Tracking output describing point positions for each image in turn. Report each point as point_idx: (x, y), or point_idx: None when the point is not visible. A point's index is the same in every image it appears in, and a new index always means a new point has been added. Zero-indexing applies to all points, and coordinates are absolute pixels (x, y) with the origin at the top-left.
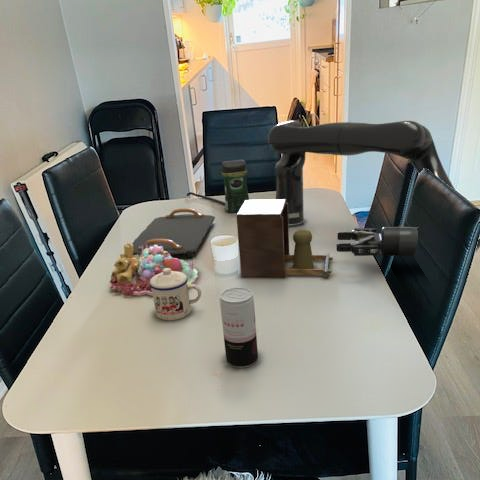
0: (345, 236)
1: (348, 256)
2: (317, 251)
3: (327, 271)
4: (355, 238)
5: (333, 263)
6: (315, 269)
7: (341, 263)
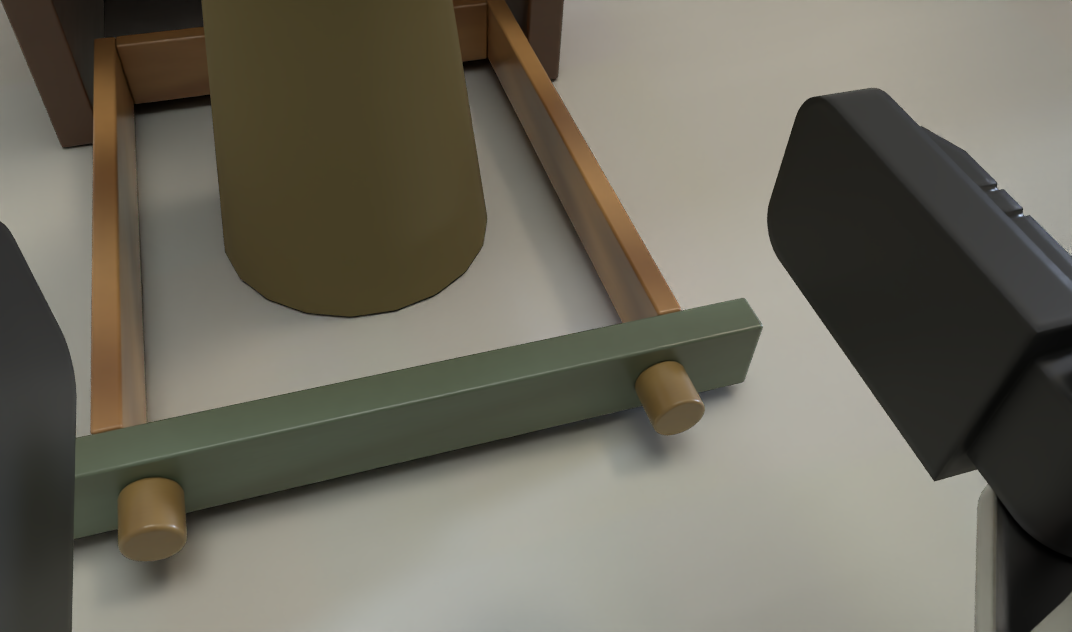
0: (882, 297)
1: None
2: None
3: None
4: (1059, 565)
5: (637, 478)
6: (95, 323)
7: (688, 587)
